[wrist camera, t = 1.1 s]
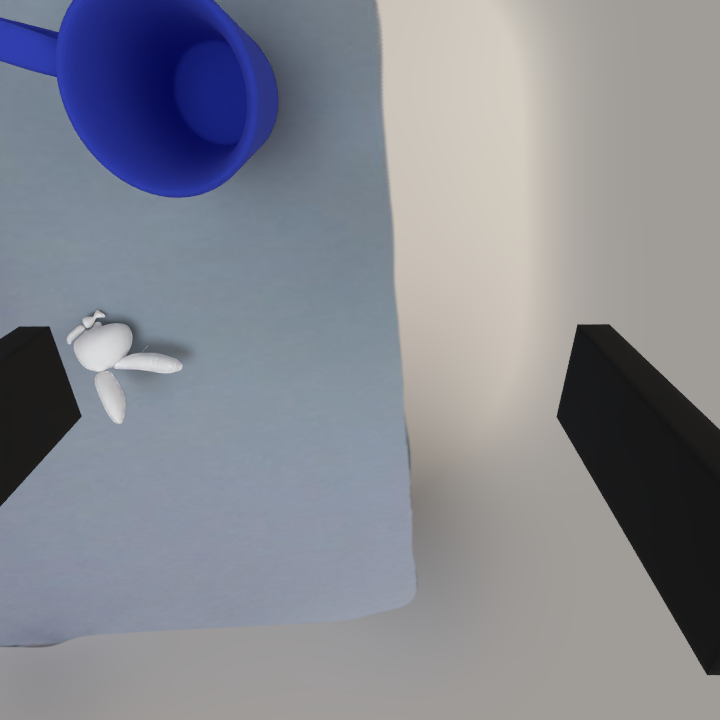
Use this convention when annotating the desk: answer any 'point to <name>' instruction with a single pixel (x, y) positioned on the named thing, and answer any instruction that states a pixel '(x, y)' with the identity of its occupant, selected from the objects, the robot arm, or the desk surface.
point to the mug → (155, 88)
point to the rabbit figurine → (114, 360)
